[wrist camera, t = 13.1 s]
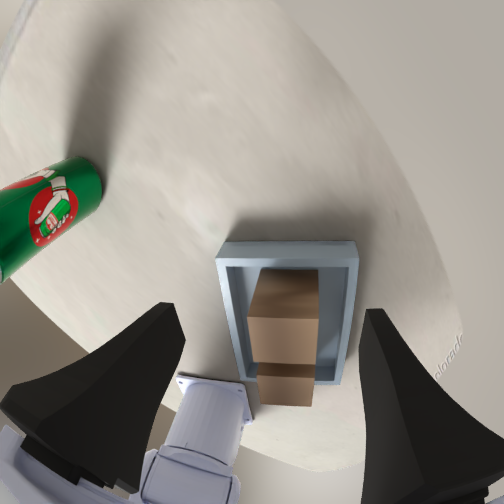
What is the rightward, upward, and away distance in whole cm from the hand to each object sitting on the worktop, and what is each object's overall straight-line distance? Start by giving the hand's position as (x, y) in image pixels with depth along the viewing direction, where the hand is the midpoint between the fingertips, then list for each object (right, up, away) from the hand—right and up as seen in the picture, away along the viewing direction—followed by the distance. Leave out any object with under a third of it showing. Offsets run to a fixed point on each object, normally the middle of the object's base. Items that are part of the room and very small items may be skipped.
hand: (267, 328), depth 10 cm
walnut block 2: (+3, -5, +13) cm, 14 cm away
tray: (+3, -2, +12) cm, 13 cm away
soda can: (-14, +8, +10) cm, 19 cm away
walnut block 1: (+2, 0, +11) cm, 11 cm away
